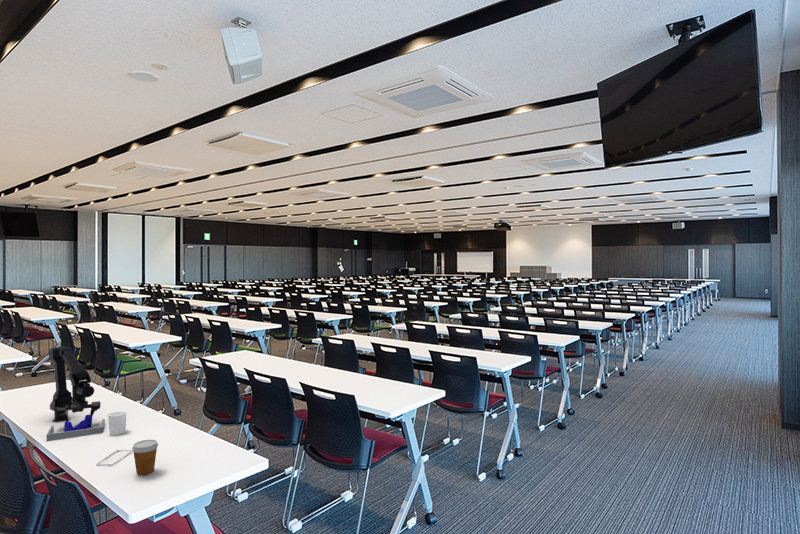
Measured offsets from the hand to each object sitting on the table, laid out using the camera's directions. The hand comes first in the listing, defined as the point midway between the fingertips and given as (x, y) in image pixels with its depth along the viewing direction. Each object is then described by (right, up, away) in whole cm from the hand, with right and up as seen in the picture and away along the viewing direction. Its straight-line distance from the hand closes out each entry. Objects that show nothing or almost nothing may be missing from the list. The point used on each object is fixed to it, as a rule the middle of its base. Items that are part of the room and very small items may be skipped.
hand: (79, 423), depth 247 cm
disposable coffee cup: (+62, -3, -52) cm, 81 cm away
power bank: (+42, -3, -38) cm, 57 cm away
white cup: (+25, -2, -8) cm, 26 cm away
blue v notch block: (+2, -2, -4) cm, 5 cm away
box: (+4, -2, -7) cm, 9 cm away
